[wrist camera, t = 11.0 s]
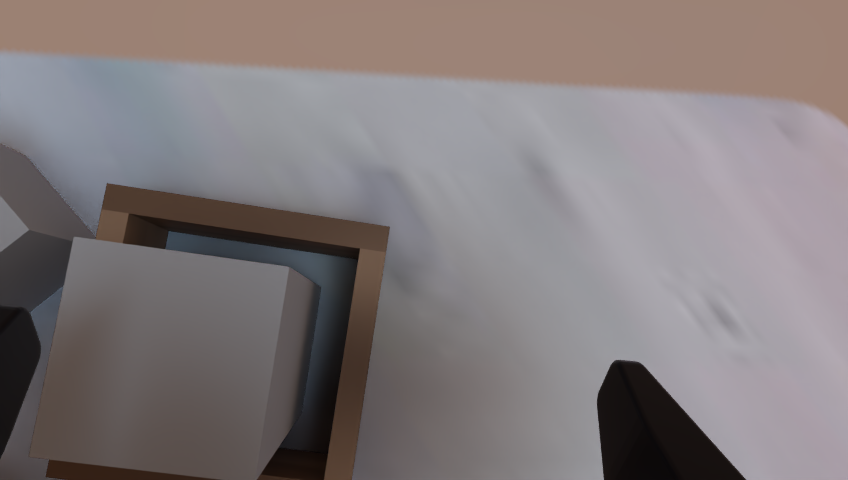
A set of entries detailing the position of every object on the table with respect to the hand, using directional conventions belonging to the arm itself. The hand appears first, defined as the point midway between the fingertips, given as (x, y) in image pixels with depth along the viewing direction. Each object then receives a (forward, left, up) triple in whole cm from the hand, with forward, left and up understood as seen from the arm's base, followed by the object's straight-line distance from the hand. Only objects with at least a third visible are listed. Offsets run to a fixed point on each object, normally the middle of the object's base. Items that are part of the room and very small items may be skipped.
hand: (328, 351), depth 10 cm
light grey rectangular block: (-3, +2, -14) cm, 14 cm away
